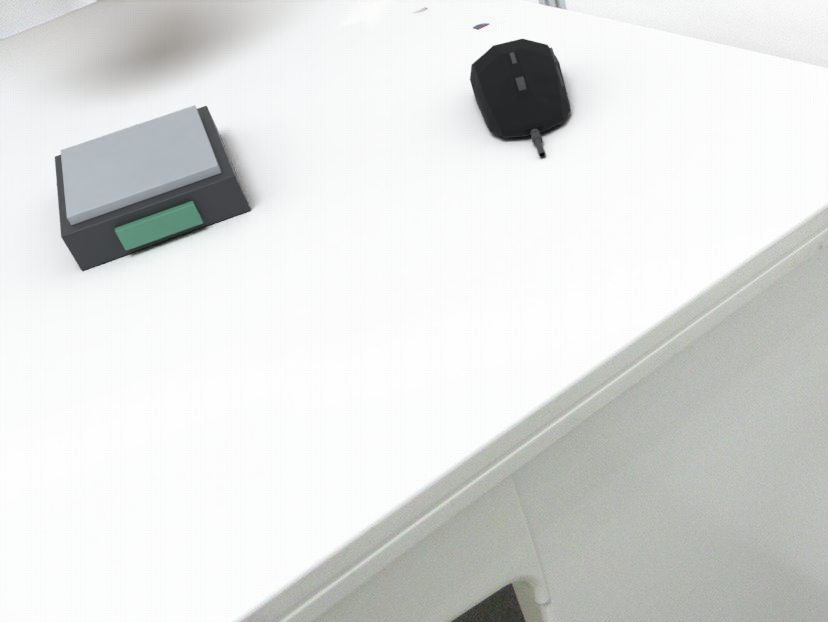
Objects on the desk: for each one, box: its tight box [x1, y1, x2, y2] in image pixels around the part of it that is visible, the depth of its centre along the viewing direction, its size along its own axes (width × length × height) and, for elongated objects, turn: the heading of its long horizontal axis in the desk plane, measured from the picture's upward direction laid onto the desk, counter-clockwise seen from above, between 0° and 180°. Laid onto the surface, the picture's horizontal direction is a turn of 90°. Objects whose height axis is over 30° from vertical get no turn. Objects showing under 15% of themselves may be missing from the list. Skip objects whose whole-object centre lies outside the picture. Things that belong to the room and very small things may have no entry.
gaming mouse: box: [469, 38, 572, 159], centre depth 73 cm, size 6×15×4 cm, turn 13°
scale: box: [54, 104, 252, 272], centre depth 73 cm, size 15×11×3 cm
